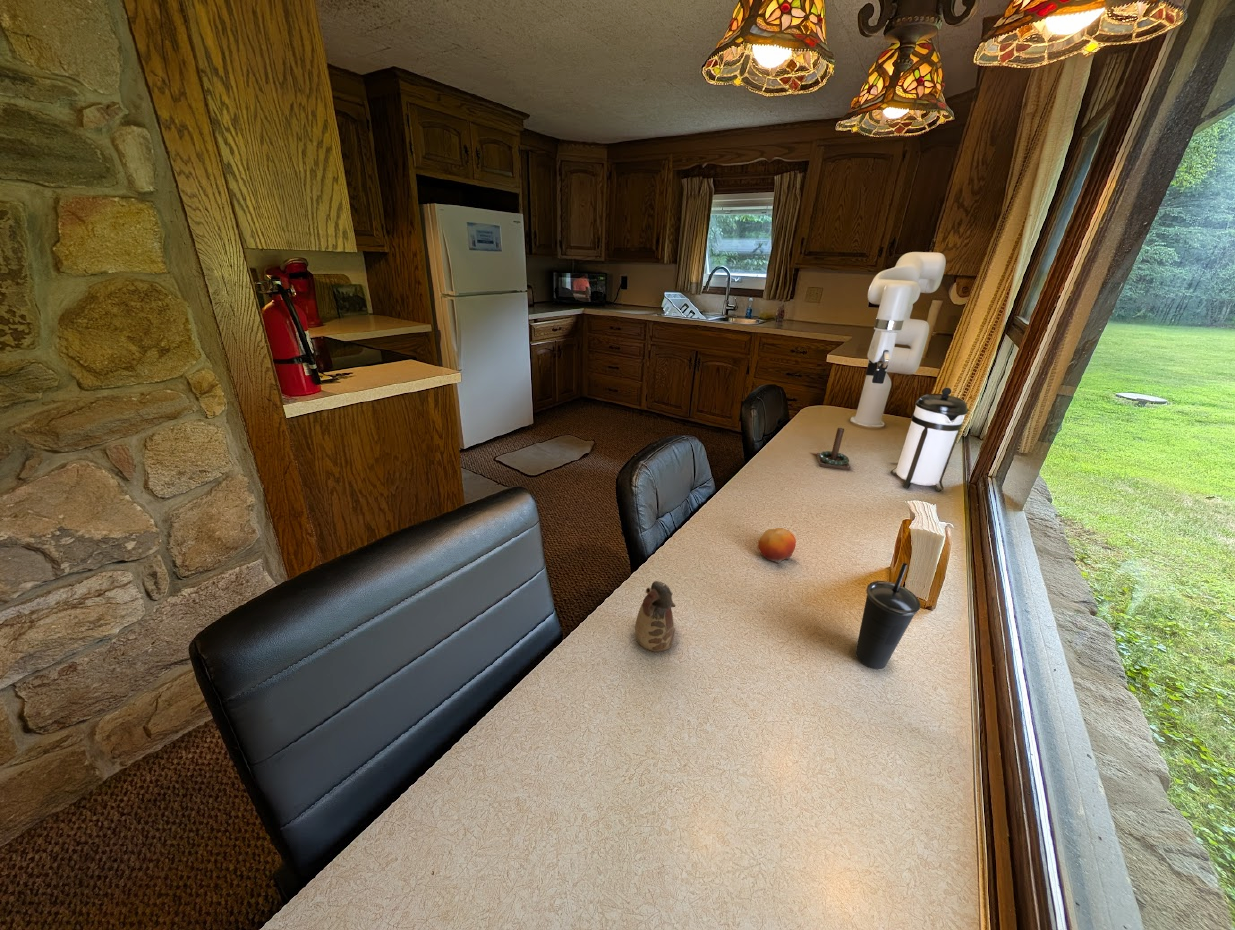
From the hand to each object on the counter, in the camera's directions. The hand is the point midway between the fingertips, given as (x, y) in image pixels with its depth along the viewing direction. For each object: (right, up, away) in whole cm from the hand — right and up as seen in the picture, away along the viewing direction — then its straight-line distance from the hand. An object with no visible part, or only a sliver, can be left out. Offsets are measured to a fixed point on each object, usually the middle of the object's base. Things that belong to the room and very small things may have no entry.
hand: (873, 379), depth 150 cm
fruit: (-48, -49, -44) cm, 82 cm away
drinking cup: (-40, -62, -71) cm, 102 cm away
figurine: (-77, -59, -68) cm, 119 cm away
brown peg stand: (-12, -27, +3) cm, 30 cm away
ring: (-12, -26, +2) cm, 29 cm away
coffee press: (+8, -33, -7) cm, 35 cm away
